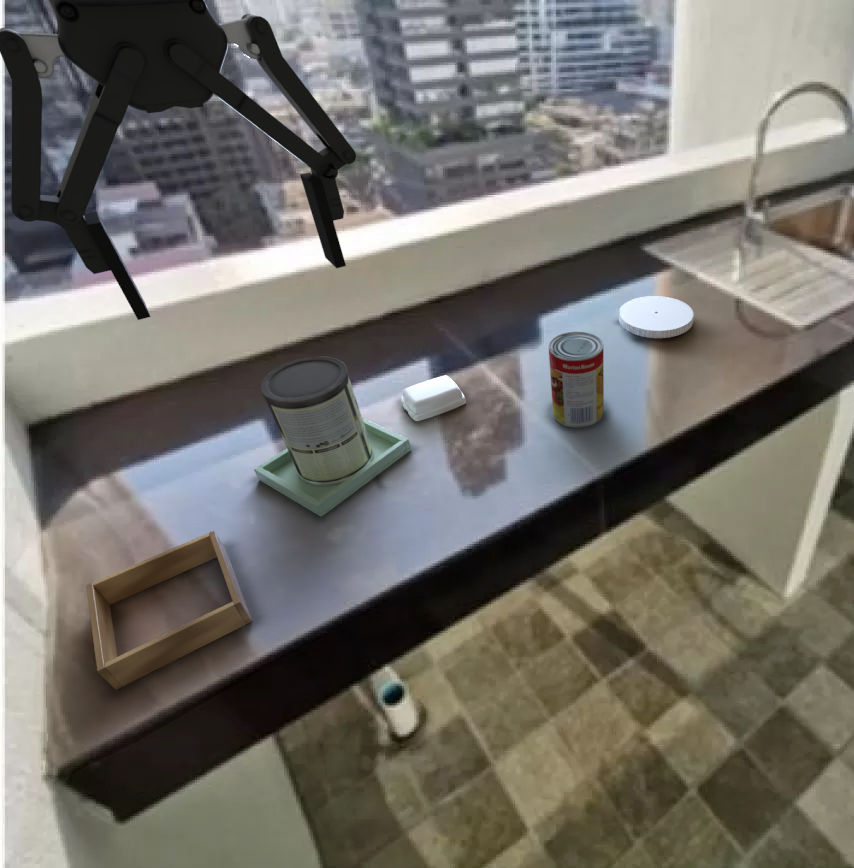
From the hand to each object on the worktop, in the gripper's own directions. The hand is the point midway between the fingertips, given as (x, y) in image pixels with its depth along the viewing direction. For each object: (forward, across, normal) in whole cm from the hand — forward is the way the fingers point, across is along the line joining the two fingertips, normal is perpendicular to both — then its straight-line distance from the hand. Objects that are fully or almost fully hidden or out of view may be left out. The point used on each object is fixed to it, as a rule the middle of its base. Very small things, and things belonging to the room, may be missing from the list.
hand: (245, 285), depth 45 cm
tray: (+37, -4, -23) cm, 43 cm away
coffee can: (+36, -4, -23) cm, 43 cm away
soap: (+37, -22, -28) cm, 51 cm away
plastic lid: (+37, -66, -25) cm, 80 cm away
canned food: (+37, -38, -12) cm, 54 cm away
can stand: (+37, +18, -10) cm, 42 cm away
